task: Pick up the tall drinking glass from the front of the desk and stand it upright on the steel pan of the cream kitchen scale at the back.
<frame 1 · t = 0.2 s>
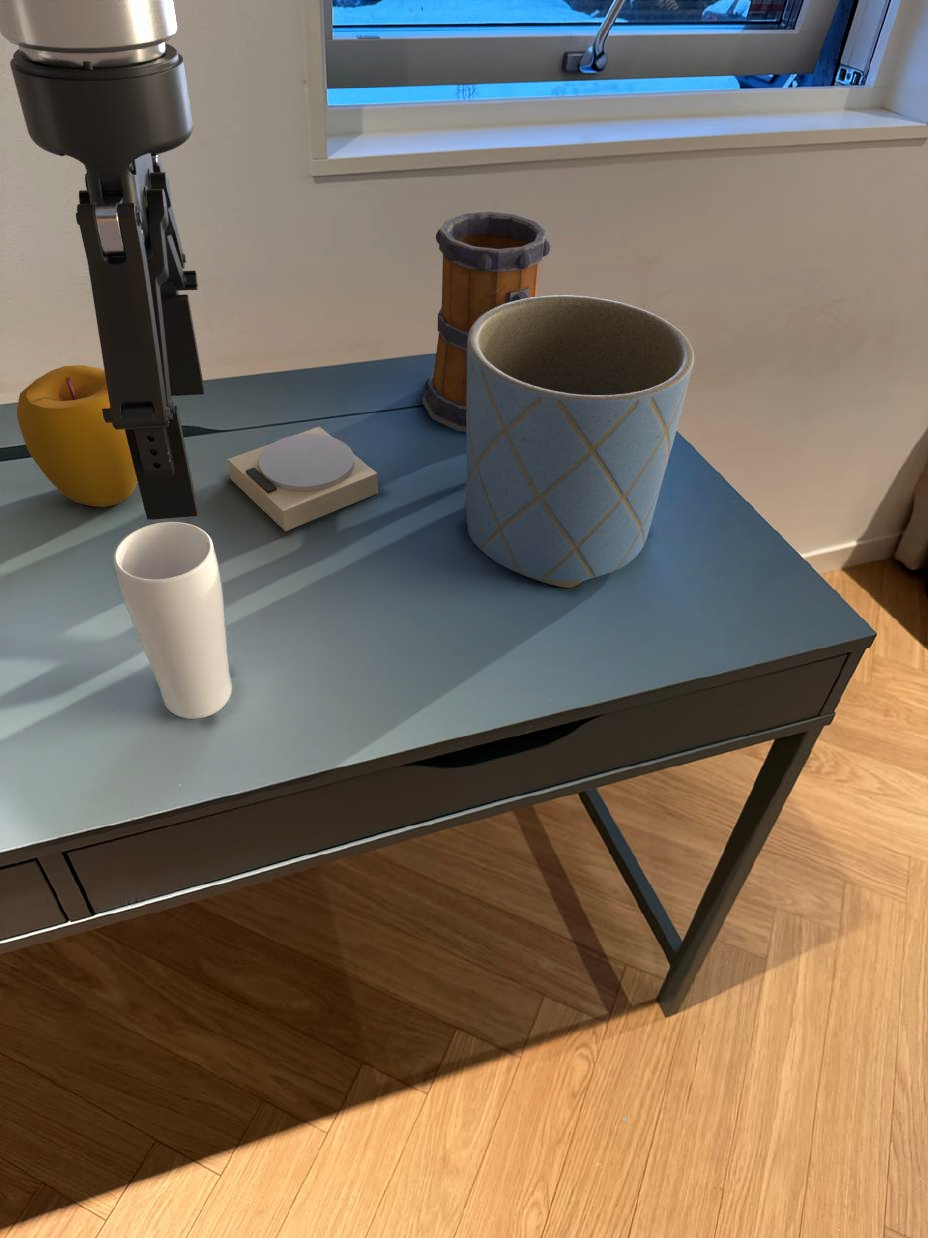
hand: (178, 448, 55), 24 cm above the table, tool pointing down, fingers open, 13 cm apart
scale: (304, 486, 94), on the table
apple: (102, 493, 92), on the table
mug: (495, 412, 106), on the table
drinking glass: (199, 698, 72), on the table
planter: (555, 532, 90), on the table
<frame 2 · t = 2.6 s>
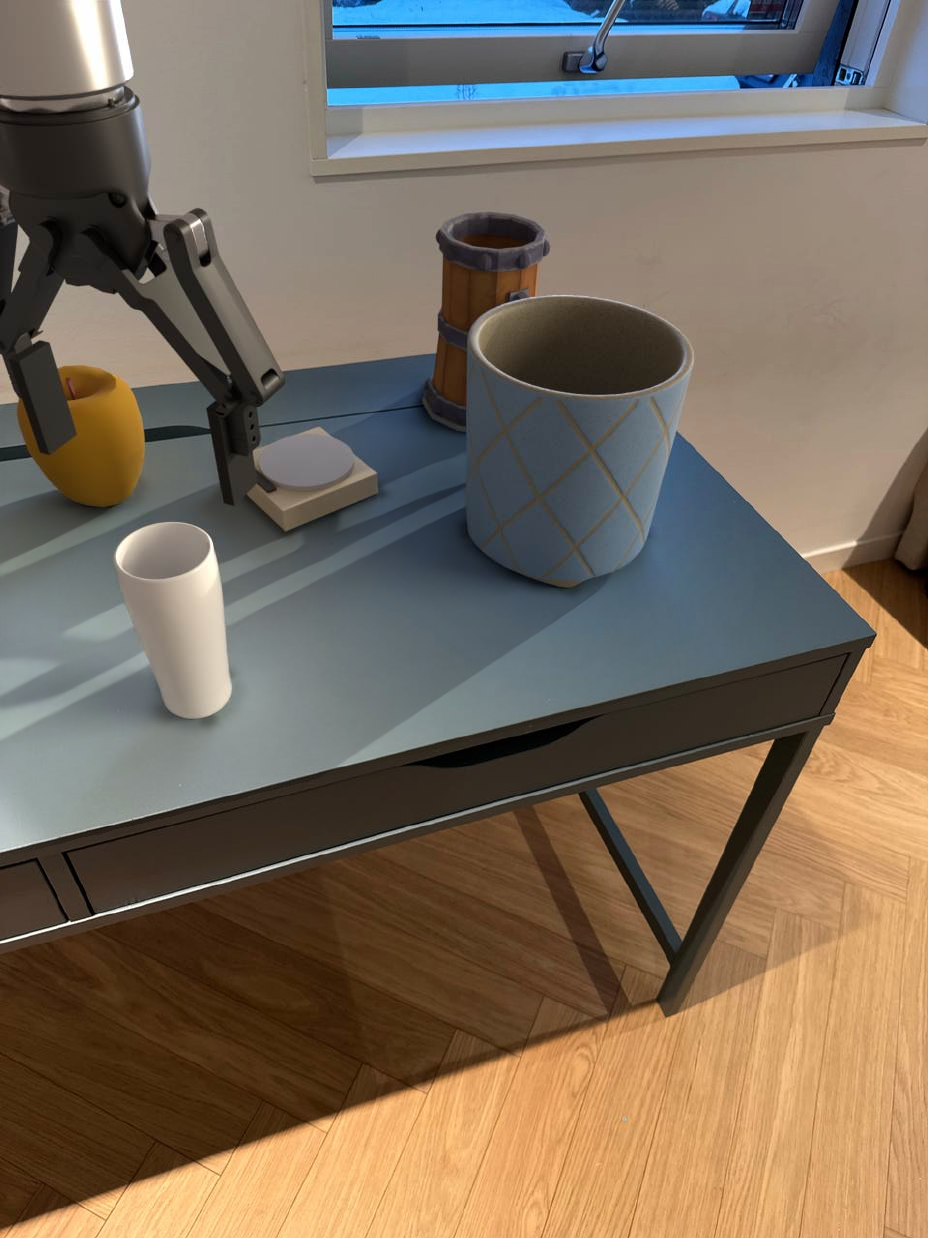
hand: (147, 468, 57), 22 cm above the table, tool pointing down, fingers open, 13 cm apart
nothing on the table moved.
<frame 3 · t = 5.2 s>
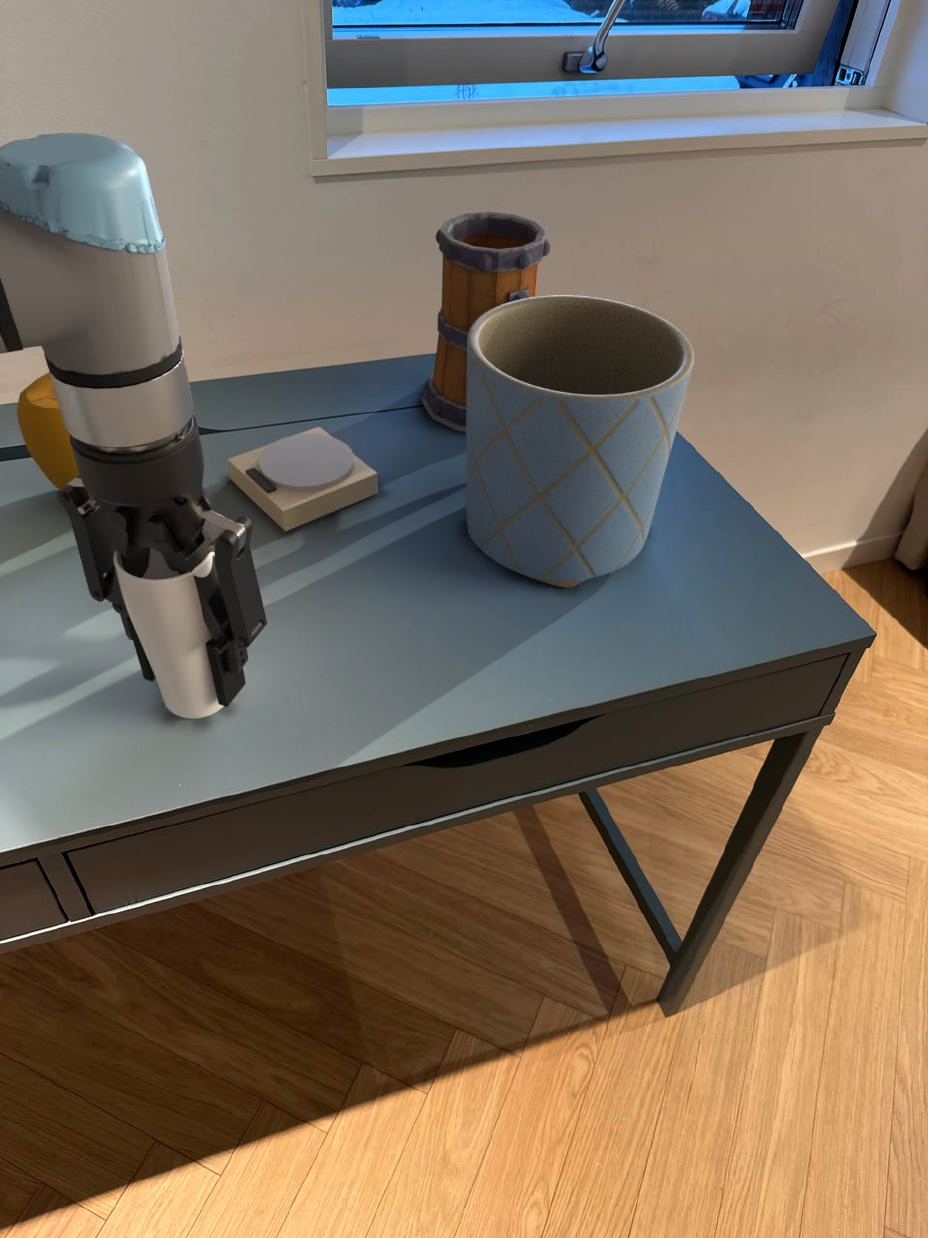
hand: (195, 680, 71), 2 cm above the table, tool pointing down, fingers closed on drinking glass, 6 cm apart
drinking glass: (199, 698, 72), on the table, touching gripper
everything else where it was.
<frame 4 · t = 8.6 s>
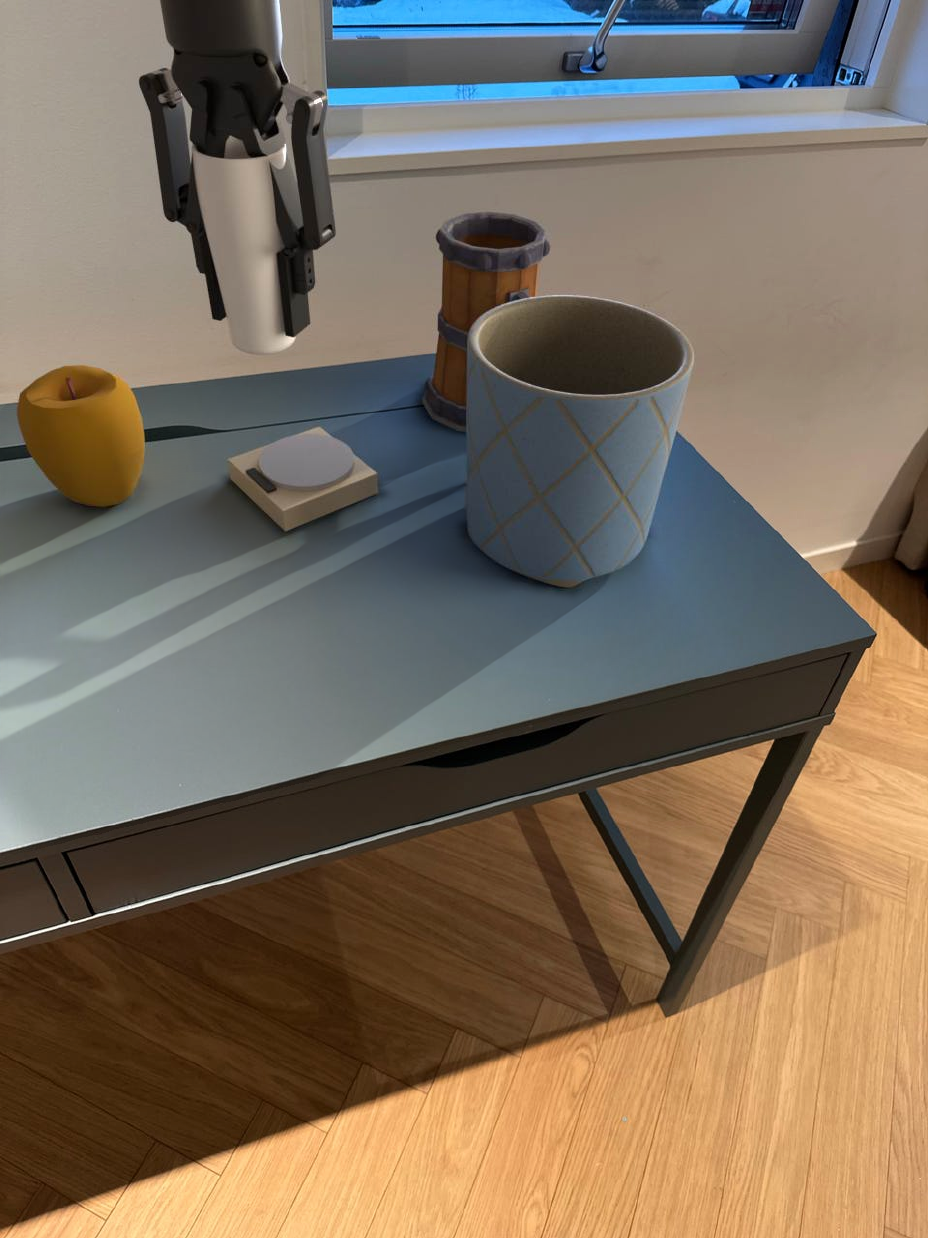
hand: (261, 320, 73), 22 cm above the table, tool pointing down, fingers closed on drinking glass, 6 cm apart
drinking glass: (264, 344, 75), point 19 cm above the table, touching gripper
everything else where it was.
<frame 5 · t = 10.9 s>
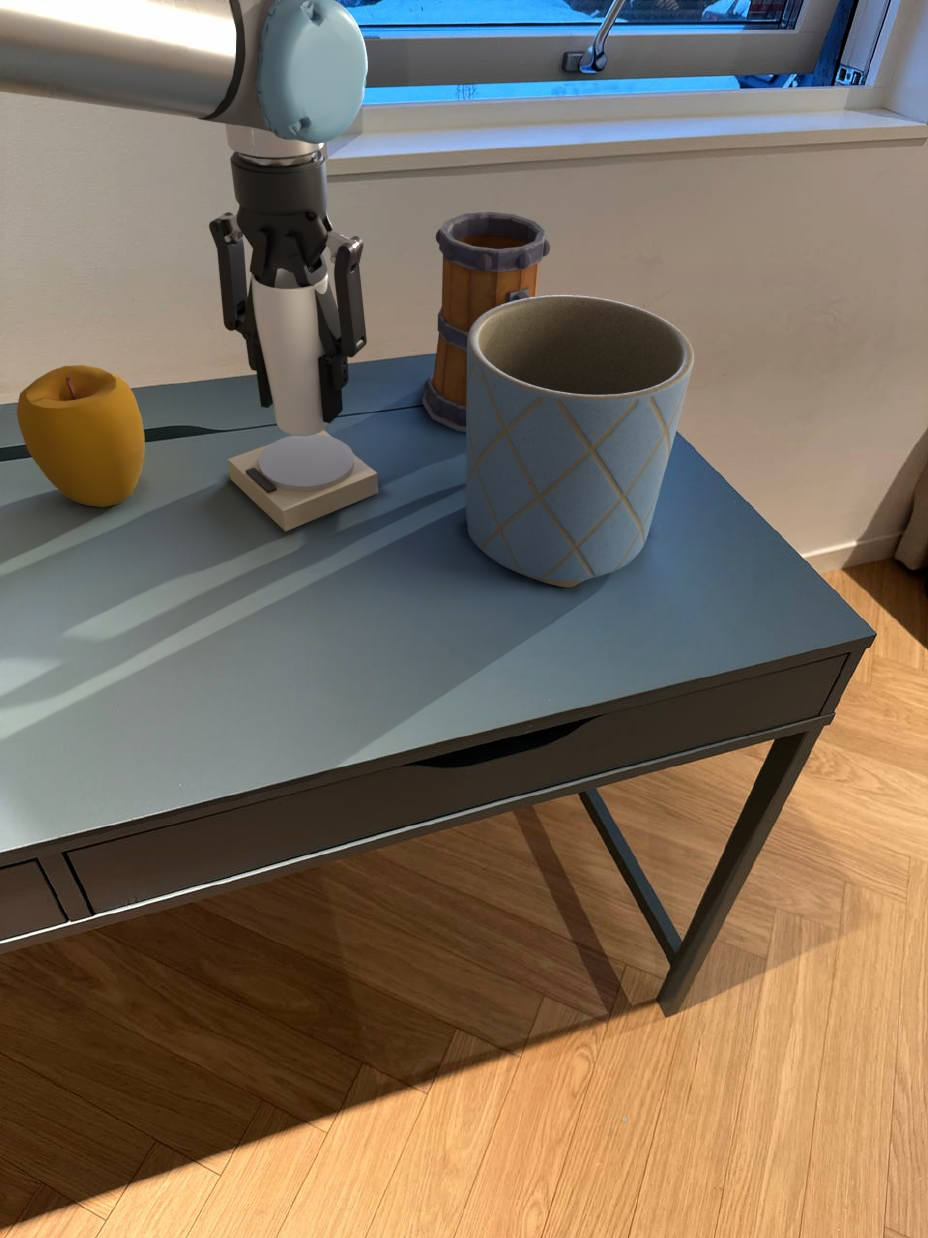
hand: (301, 407, 88), 9 cm above the table, tool pointing down, fingers closed on drinking glass, 6 cm apart
drinking glass: (303, 426, 89), point 7 cm above the table, touching gripper
everything else where it was.
when the fingers open (5 cm above the table, at t = 12.4 s): drinking glass stays where it is, resting on scale.
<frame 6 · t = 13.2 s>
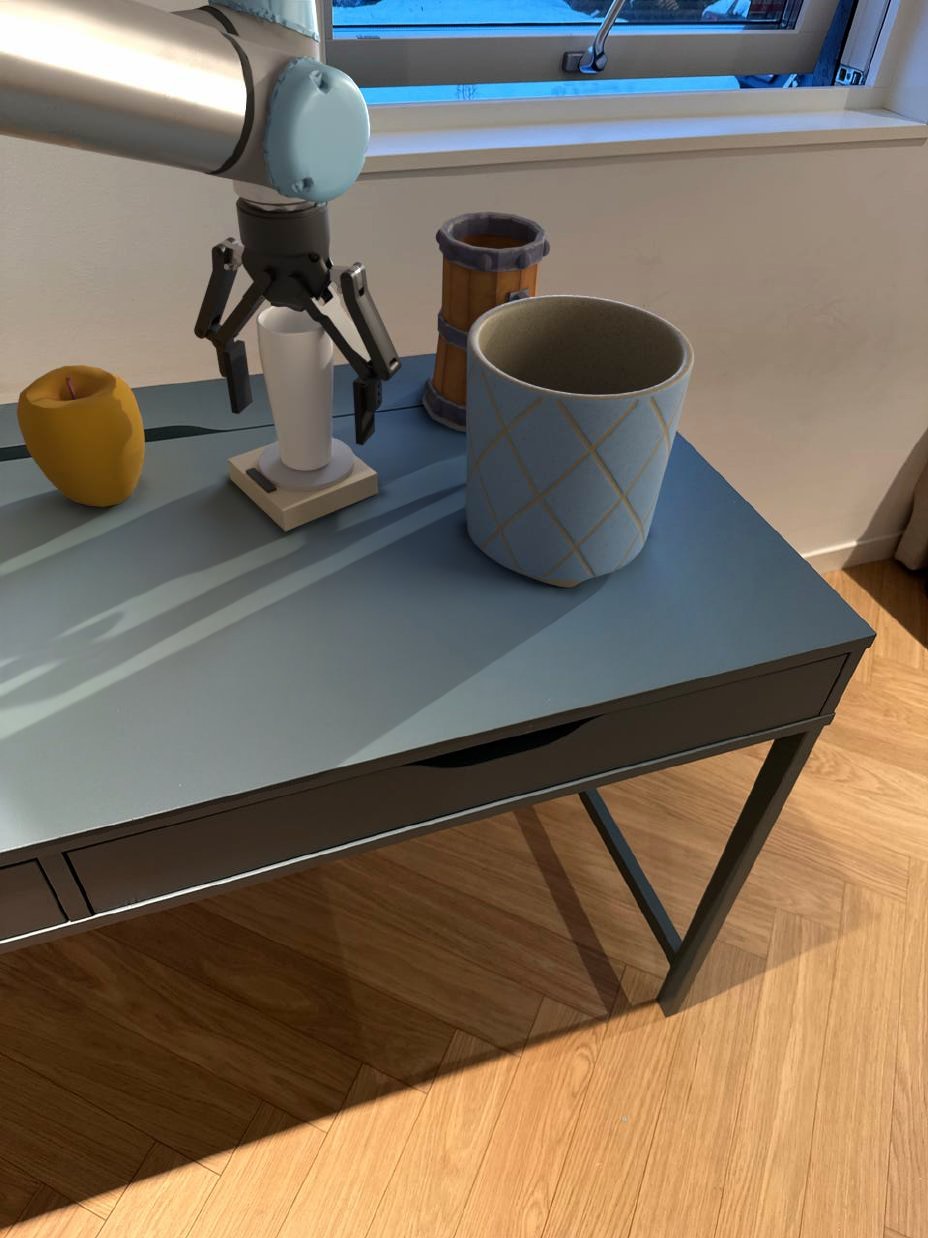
hand: (302, 422, 89), 7 cm above the table, tool pointing down, fingers open, 13 cm apart
drinking glass: (306, 460, 92), point 3 cm above the table, touching scale
everything else where it was.
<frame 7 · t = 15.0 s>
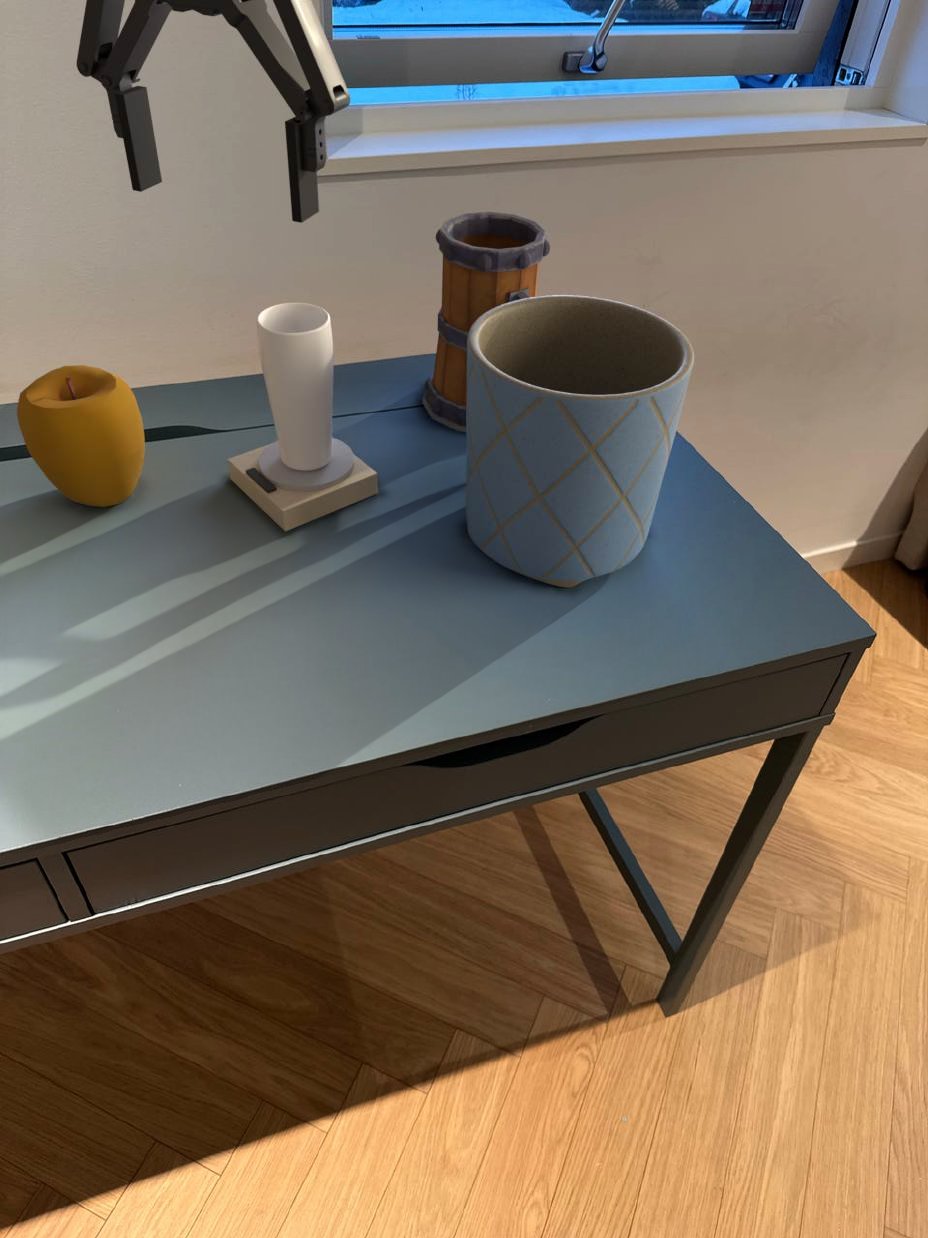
hand: (224, 201, 68), 30 cm above the table, tool pointing down, fingers open, 13 cm apart
nothing on the table moved.
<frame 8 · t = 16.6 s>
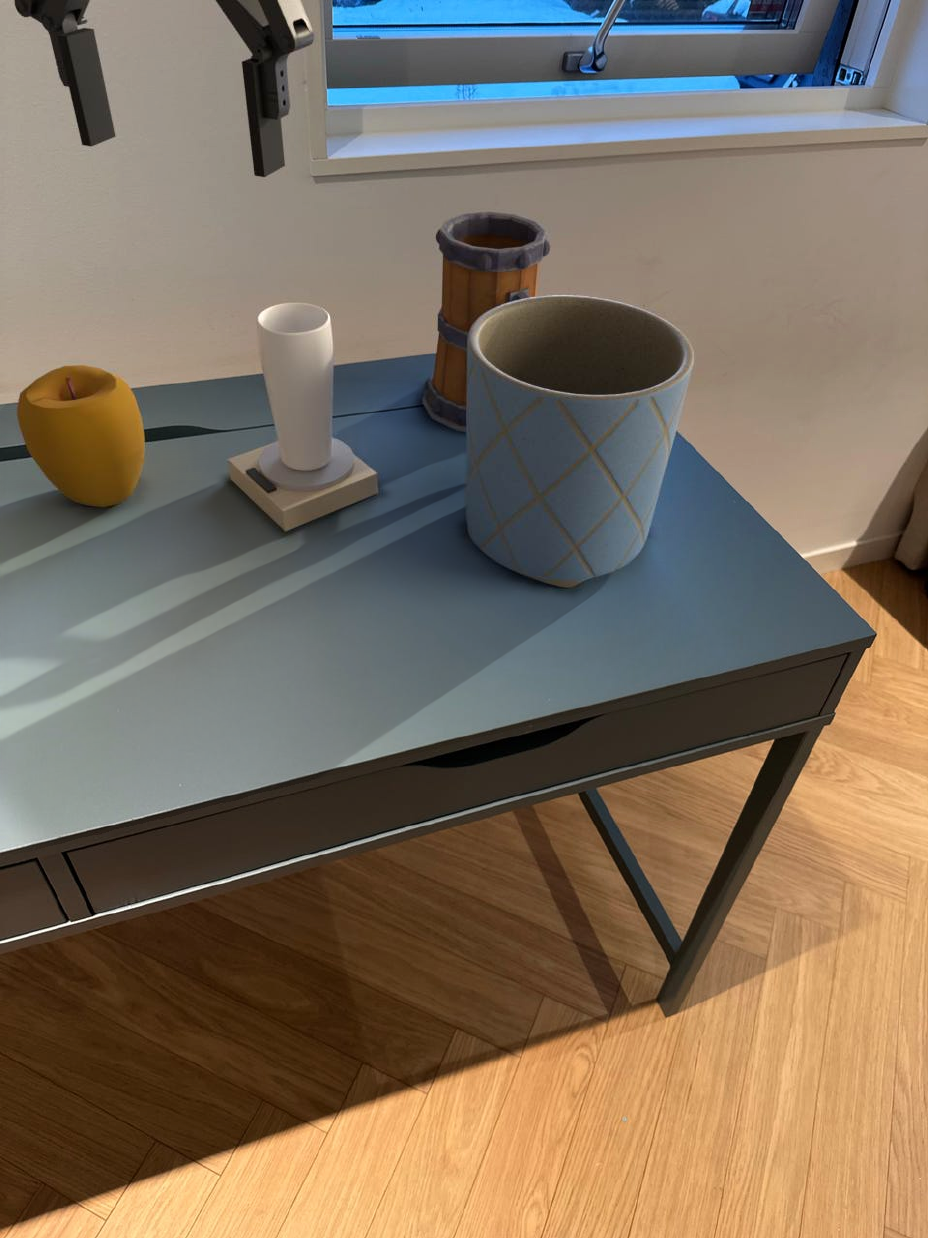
hand: (182, 155, 62), 35 cm above the table, tool pointing down, fingers open, 13 cm apart
nothing on the table moved.
at the end: drinking glass inside the target area on the scale (0.0 cm from its centre), point 2.9 cm above the scale's base; drinking glass tilted 0°; the gripper is holding nothing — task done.
